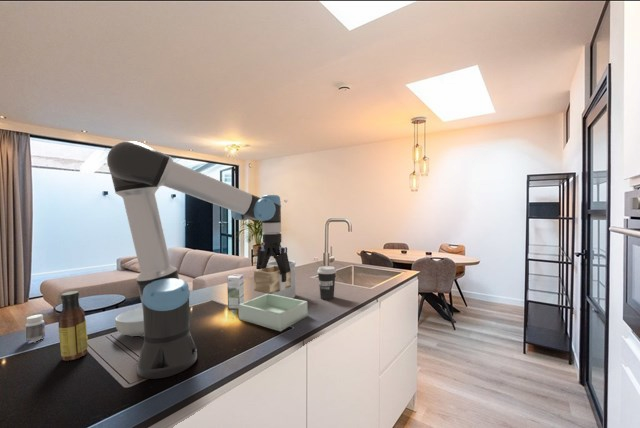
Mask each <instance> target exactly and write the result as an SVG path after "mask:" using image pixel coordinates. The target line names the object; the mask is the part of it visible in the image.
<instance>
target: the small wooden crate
mask: <svg viewBox="0 0 640 428" xmlns="http://www.w3.org/2000/svg"><path fill="white" fill-rule="evenodd" d="M280 273H281V272H280V270H279V267H278V266H275V265H274V266H270V267H266V268H263V269H256V270H254V271H253V288H254V289H253V290H254V292H257V293H258V292H260V293H264V294H273V293H276V292H278V291H280V289H279V274H280ZM289 287H291V267H290V272H288V273H286V282H285V289H286V288H289Z"/></svg>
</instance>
